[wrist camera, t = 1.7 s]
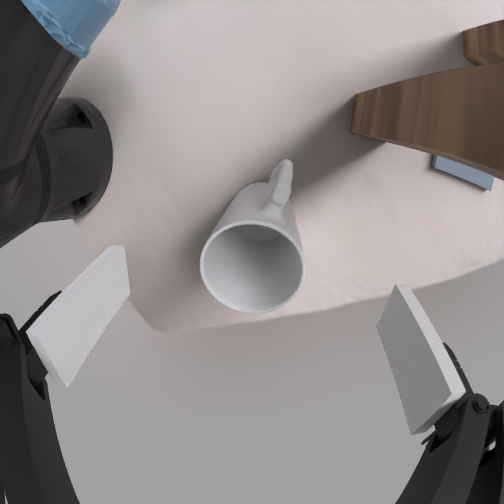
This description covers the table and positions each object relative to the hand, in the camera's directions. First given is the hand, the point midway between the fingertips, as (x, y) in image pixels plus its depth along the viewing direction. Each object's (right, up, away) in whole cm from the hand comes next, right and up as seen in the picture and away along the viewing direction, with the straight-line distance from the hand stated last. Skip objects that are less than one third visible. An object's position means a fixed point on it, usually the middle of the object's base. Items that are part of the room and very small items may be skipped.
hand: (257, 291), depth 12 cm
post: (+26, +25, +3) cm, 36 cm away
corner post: (+11, +15, +10) cm, 21 cm away
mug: (+1, +7, +15) cm, 17 cm away
